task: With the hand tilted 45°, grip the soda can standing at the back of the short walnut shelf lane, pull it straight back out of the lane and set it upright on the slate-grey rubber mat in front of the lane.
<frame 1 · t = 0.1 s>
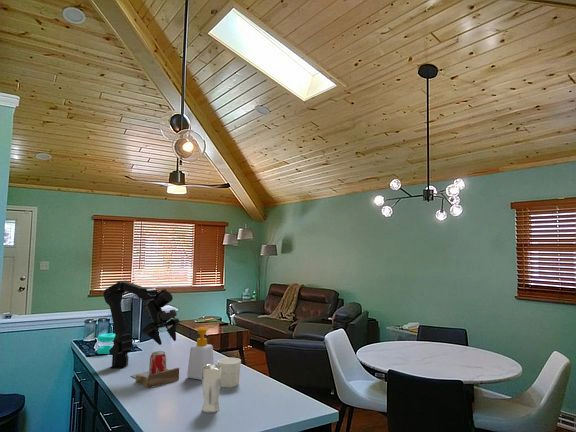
hand: (168, 342, 183), 15 cm above the kitchen island, tool tilted 35°, fingers open, 9 cm apart
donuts: (106, 353, 222), on the kitchen island
soap bottle: (203, 376, 183), on the kitchen island
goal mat: (144, 376, 181), on the kitchen island
shelf lane: (157, 380, 174), on the kitchen island
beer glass: (210, 410, 143), on the kitchen island
soda can: (157, 381, 174), on the kitchen island
cup: (228, 384, 171), on the kitchen island
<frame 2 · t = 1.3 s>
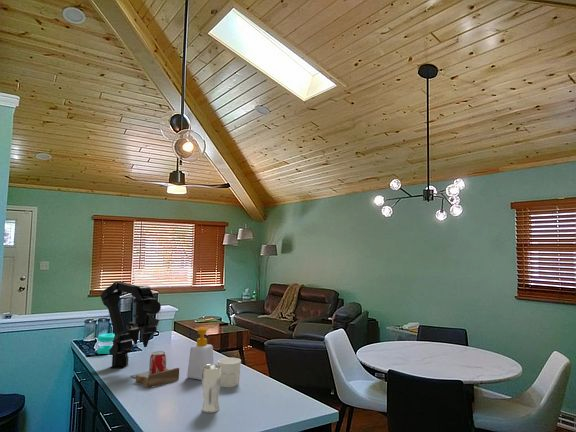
hand: (140, 345, 189), 12 cm above the kitchen island, tool pointing down, fingers open, 9 cm apart
nothing on the kitchen island moved.
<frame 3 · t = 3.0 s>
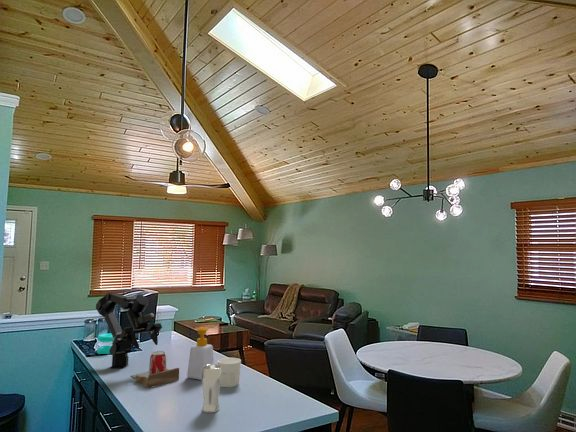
hand: (147, 346, 181), 14 cm above the kitchen island, tool tilted 45°, fingers open, 9 cm apart
nothing on the kitchen island moved.
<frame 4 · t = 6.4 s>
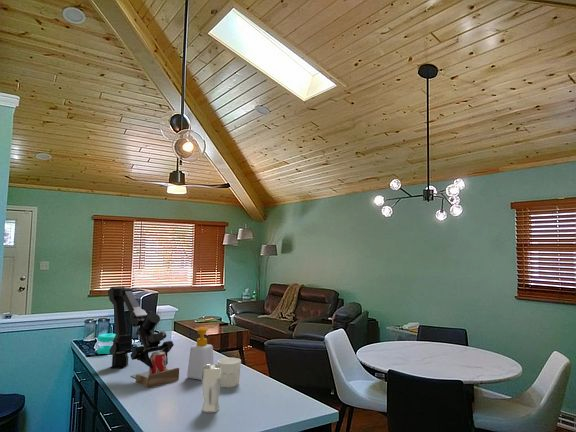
hand: (159, 366, 174), 7 cm above the kitchen island, tool tilted 45°, fingers closed on soda can, 7 cm apart
soda can: (157, 381, 174), on the kitchen island, touching gripper
everything else where it was.
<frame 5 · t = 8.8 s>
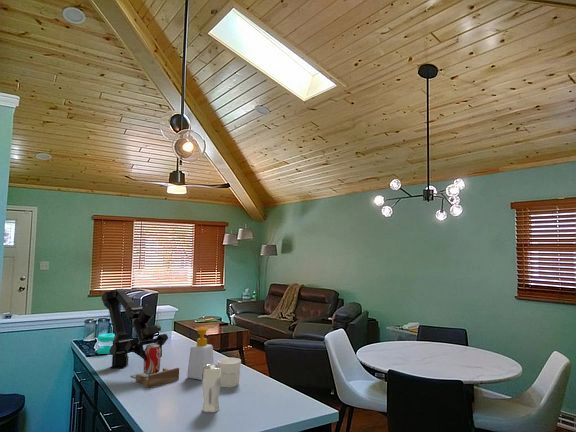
hand: (153, 358, 177), 9 cm above the kitchen island, tool tilted 45°, fingers closed on soda can, 7 cm apart
soda can: (151, 373, 178), point 2 cm above the kitchen island, touching gripper
everything else where it was.
when the fingers open (8 cm above the kitchen island, at t = 11.5 s): soda can stays where it is, resting on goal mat.
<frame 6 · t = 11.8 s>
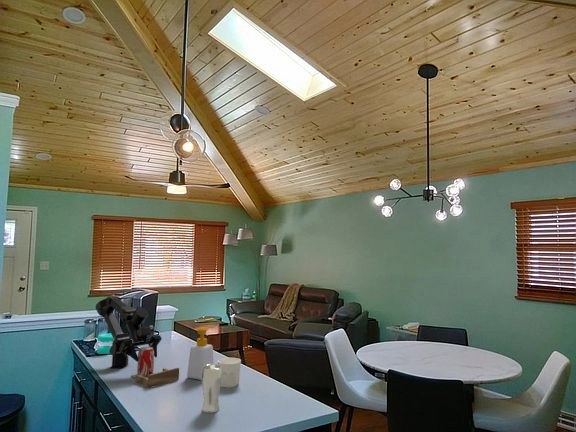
hand: (147, 359, 181), 8 cm above the kitchen island, tool tilted 45°, fingers open, 9 cm apart
soda can: (145, 375, 181), resting on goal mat
everything else where it was.
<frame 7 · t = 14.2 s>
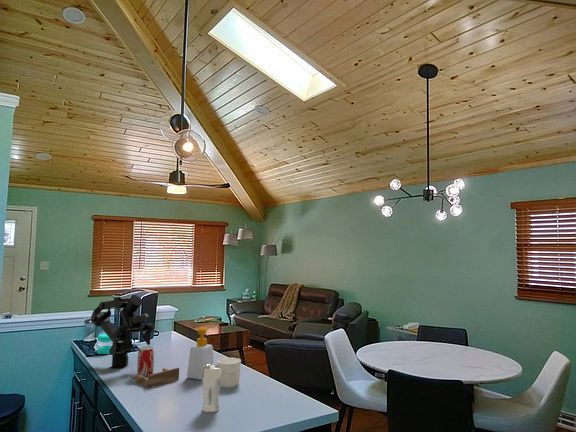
hand: (140, 345, 186), 13 cm above the kitchen island, tool tilted 40°, fingers open, 9 cm apart
nothing on the kitchen island moved.
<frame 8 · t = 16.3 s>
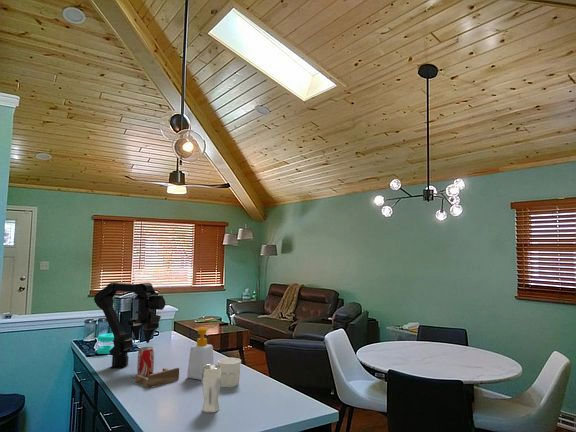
hand: (142, 341, 193), 13 cm above the kitchen island, tool pointing down, fingers open, 9 cm apart
nothing on the kitchen island moved.
at the end: soda can inside the target area on the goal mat (0.2 cm from its centre), point 0.2 cm above the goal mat's base; soda can tilted 0°; the gripper is holding nothing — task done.
